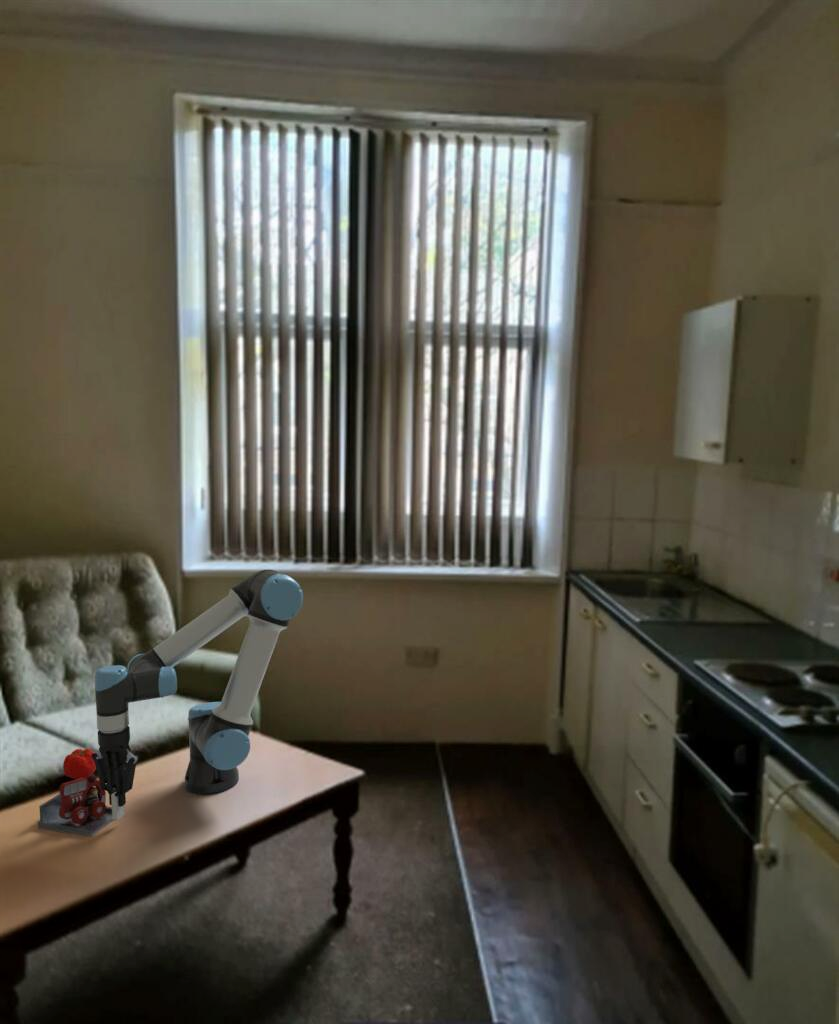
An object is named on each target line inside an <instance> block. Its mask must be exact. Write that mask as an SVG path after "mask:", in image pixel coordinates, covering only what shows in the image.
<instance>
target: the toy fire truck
mask: <svg viewBox="0 0 839 1024" xmlns="http://www.w3.org/2000/svg"><path fill="white" fill-rule="evenodd" d="M106 793H107V791H106V790H105V791H103V790H102V789H101V785H100V781H99V779H97V776H96V775H95V774H94V773H93V774H91V775H89V776H88V778H80V779H73V780H70V781H66V782H62V783H61V784H60V785H59V794H60V795H61V807H60V810H59V816H60V817H61V818H63V819H70V818H71V821H72V822H73V823H75V824H81V823H83V822H84V821H85V820H86V819H87V816H88V812H90V815H91V816H92V817H95V818H99V817H101V816H102V815H103V814H104V813H105V811H106V806H107V805H106V803H107V802H106V800H107V799H106V797H107V795H106Z"/></svg>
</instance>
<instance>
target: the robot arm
mask: <svg viewBox="0 0 839 1024" xmlns="http://www.w3.org/2000/svg"><path fill="white" fill-rule="evenodd" d="M228 591H229V592H228V595H226V596H225V597H223V599H221V600H219V601H218V602H217V603H216V604H214V605H213V606H210V607H209V608H207V610H206V611H204V612H203V613H201V614H200V615H198V616H197V617H195V618H194V619H193V620H191V621H190V622H188V623H187V624H186V625H184V626H183V627H182V628H179V630H177V631H175V632H174V633H173V634H171V635H170V636H169V637H167V638H166V639H165V640H163V641H161V642H160V643H158V644H157V645H156V646H154V647H153V648H151V649H150V650H148V651H147V652H145V653H139V654H136V655H134V656H133V657H132V658H131V659H130V660H129V661H128V663H127V668H126V666H124V665H120V664H118V665H117V664H116V665H114V664H113V665H107V666H102V667H101V668H99V669H98V670H96V672H95V675H94V692H95V693H94V694H95V695H94V696H95V706H96V708H95V710H96V728H97V730H98V731H97V744H98V746H99V748H98V750H97V751H95V752H94V753H93V754H92V755H91V757H92V759H93V761H94V762H95V766H96V772H97V778H98V780H99V781H100V785H101V789H102V790H103V791H105V792H106V793H107V794H108V797H109V798H108V799H109V802H108V803H109V805H110V806H111V807H112V819H113V821H119V820H120V819H121V818H123V817H124V816H125V805H126V803H127V801H126V797H127V796H126V794H127V793H128V792H129V791H131V790H132V789H133V786H134V778H135V774H136V767H137V763H138V761H139V759H140V755H139V754H136V755H135V754H133V752H132V751H131V750H132V749H131V747H130V745H129V744H130V741H131V731H130V726H129V725H130V716H129V715H130V714H129V703H135V702H141V701H146V700H153V699H161V698H162V699H163V698H165V697H169V696H173V695H175V694H176V693H177V691H178V679H177V677H178V676H177V673H176V670H175V668H174V667H175V666H177V665H178V664H179V663H181V662H182V661H184V660H185V659H186V658H188V657H189V656H191V655H192V654H193V653H195V652H196V651H197V650H199V649H200V648H202V647H203V646H205V645H206V644H207V643H209V642H211V640H213V639H215V637H217V636H218V635H220V634H222V632H224V631H226V630H227V629H228V628H229V627H231V626H232V625H233V624H235V623H236V622H238V621H239V620H241V619H242V618H243V617H248V619H249V625H248V627H247V631H246V633H245V635H244V639H243V642H242V644H241V647H240V650H239V651H238V655H237V657H236V661H235V664H234V666H233V669H232V671H231V674H230V677H229V680H228V683H227V685H226V688H225V691H224V693H223V697H222V699H221V701H212V702H210V701H209V702H204V703H200V704H196V705H194V706H192V707H191V708H190V709H189V710H188V716H187V717H188V718H187V721H188V739H189V743H188V744H189V762H188V765H187V767H186V771H185V776H184V788H185V789H186V790H187V791H188V792H190V793H194V794H201V795H202V794H203V795H209V794H215V793H221V792H224V791H227V790H229V789H231V788H233V787H235V786H236V785H237V783H238V782H239V781H240V778H239V777H240V774H239V769H238V767H239V766H240V765H241V764H242V763H244V762H245V760H247V758H248V756H249V753H250V751H251V740H250V737H249V735H250V733H251V731H252V728H253V724H254V720H253V718H252V716H251V713H252V710H253V707H254V705H255V703H256V699H257V697H258V694H259V691H260V689H261V685H262V682H263V680H264V676H265V674H266V672H267V669H268V666H269V663H270V661H271V657H272V656H273V655H272V654H273V652H274V650H275V647H276V644H277V642H278V640H279V639H278V638H279V635H280V633H281V632H282V631H283V630H286V629H288V627H289V624H290V621H291V619H292V618H293V617H295V616H296V615H298V613H299V612H300V610H301V608H302V606H303V601H304V593H303V590H302V588H301V586H300V584H299V583H298V582H297V581H296V579H294V578H292V577H291V576H289V575H287V574H283V573H280V572H279V571H277V570H273V569H261V570H258V571H256V572H254V573H252V574H251V575H249V576H248V577H246V578H244V579H243V580H242V581H240V582H239V583H238V584H236V585H235V586H233V587H232V588H231V589H229V590H228Z"/></svg>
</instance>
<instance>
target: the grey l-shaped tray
mask: <svg viewBox="0 0 839 1024" xmlns="http://www.w3.org/2000/svg"><path fill="white" fill-rule="evenodd" d="M38 807H39V820H38V821H37V828H38V830H44V831H45V830H46V831H51V832H58V833H63V834H64V833H65V834H70V835H76V836H77V835H78V836H83V837H93V836H94V835H95V834H96V833H98V832H100V831H101V830H102V829H104V828H105V827H106V826H108V825H109V824H111V823H112V822H113V821H114V820H113V819H112V806H108V805H106V811H105V813H104V814H103V815H102V816H101V817H99V818H95V817H92V816H91V815H90V812H88V816H87V819H86V820H85V821H84V822H83V823H81V824H75V823H73V822H72V821H71V818H70V819H63V818H61V817H60V816H59V810H60V807H61V795H60V793H58V794H57V795H55V796H53V797H52V798H50V799H49V800H47V801H45V802H44V803H41V804H40V805H39V806H38Z"/></svg>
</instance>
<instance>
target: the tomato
mask: <svg viewBox="0 0 839 1024" xmlns="http://www.w3.org/2000/svg"><path fill="white" fill-rule="evenodd" d="M93 753H95V752H94V751H93V750H92V749H90V748H84V749H82V748H77V749H75V750H73V751H72V752H70V754H67V755H66V756H65V758H64V760H63V763H62V764H63V765H62V769H63V773H64V775H65V776H66V777H67V778H69V779H73V780H76V779H80V778H87V779H88V776H89V775H91V774H94V773H95V771H97V769H96V766H95V762H94V761H93V759H92V757H91V755H92V754H93Z"/></svg>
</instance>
